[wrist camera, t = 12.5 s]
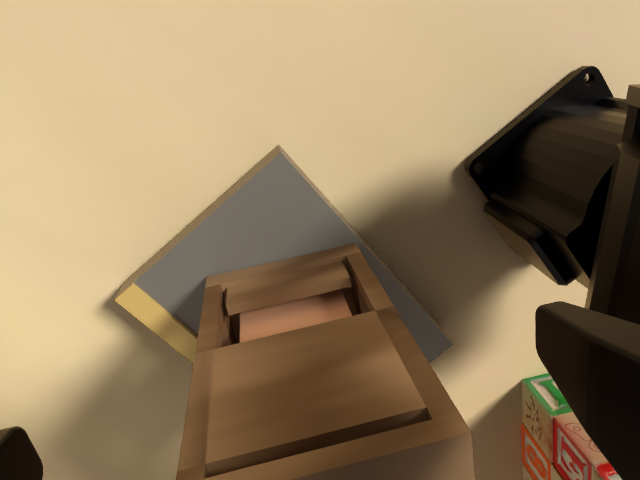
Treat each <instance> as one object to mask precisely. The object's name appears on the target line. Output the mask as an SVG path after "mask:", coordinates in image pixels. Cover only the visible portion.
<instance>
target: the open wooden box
mask: <svg viewBox="0 0 640 480" xmlns="http://www.w3.org/2000/svg"><path fill="white" fill-rule="evenodd" d="M339 289H341V291H342V293H343V295H344V298H345V300H346V302H347V305H348V307H349V309H350V312H351V314H352V316H350V317H346V318H342V319H338V320H333V321H329V322H325V323H321V324H317V325H313V326H308V327H304V328H300V329H296V330H292V331H287V332H283V333H279V334H275V335H271V336H267V337H262V338H258V339H254V340H250V341H246V342H242V343H240V313H241V312H246V311H250V310H254V309H258V308H263V307H267V306H271V305H275V304H280V303H284V302H288V301H292V300H297V299H301V298H305V297H309V296H314V295H318V294H322V293H326V292H331V291H335V290H339ZM176 480H475V472H474V460H473V447H472V435H471V431H470V429H469V428H468V426H467V424H466V423H465V421H464V420H463V418H462V416H461V415H460V413H459V411H458V410H457V408H456V406H455V405H454V403H453V402H452V400H451V398H450V397H449V395H448V393H447V392H446V390H445V389H444V387H443V385H442V384H441V382H440V380H439V379H438V377H437V375H436V374H435V372H434V371H433V369H432V367H431V366H430V364H429V362H428V361H427V359H426V357H425V356H424V354H423V353H422V351H421V349H420V348H419V346H418V344H417V343H416V341H415V340H414V338H413V336H412V335H411V333H410V331H409V330H408V328H407V326H406V325H405V323H404V322H403V320H402V318H401V317H400V315H399V313H398V312H397V310H396V309H395V307H394V305H393V304H392V302H391V300H390V299H389V297H388V295H387V294H386V292H385V291H384V289H383V287H382V286H381V284H380V282H379V281H378V279H377V277H376V276H375V274H374V273H373V271H372V269H371V268H370V266H369V264H368V263H367V261H366V260H365V258H364V256H363V255H362V253H361V251H360V250H359V248H358V246H357V245H356V243H354V244H349V245H345V246H340V247H336V248H332V249H327V250H323V251H319V252H314V253H310V254H305V255H301V256H297V257H292V258H288V259H283V260H279V261H275V262H270V263H266V264H262V265H257V266H253V267H248V268H244V269H240V270H235V271H231V272H227V273H222V274H218V275H213V276H209V277H207V279H206V286H205V292H204V299H203V305H202V312H201V319H200V325H199V332H198V339H197V345H196V352H195V358H194V365H193V372H192V378H191V385H190V392H189V398H188V405H187V411H186V418H185V425H184V431H183V438H182V445H181V451H180V458H179V464H178V471H177V478H176Z"/></svg>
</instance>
